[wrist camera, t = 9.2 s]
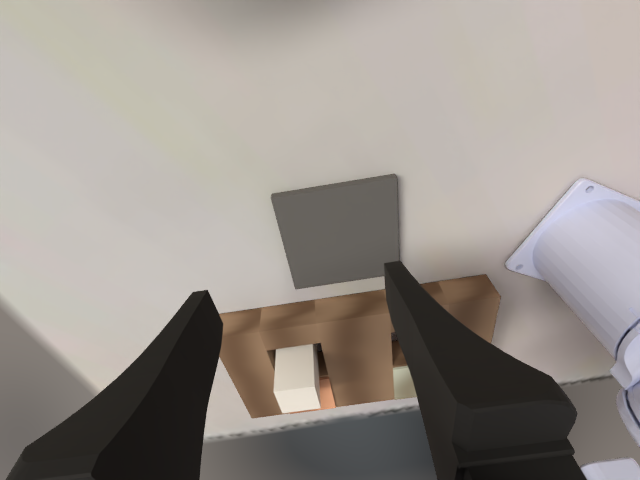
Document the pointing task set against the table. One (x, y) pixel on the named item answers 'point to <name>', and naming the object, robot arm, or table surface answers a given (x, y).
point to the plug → (297, 378)
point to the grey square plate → (339, 230)
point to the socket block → (342, 343)
